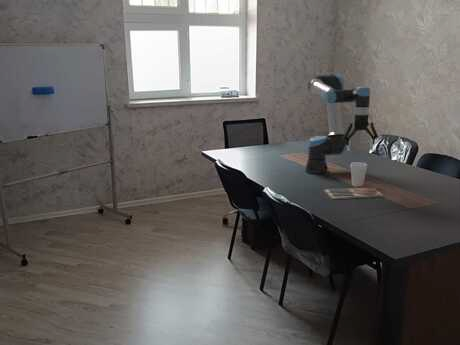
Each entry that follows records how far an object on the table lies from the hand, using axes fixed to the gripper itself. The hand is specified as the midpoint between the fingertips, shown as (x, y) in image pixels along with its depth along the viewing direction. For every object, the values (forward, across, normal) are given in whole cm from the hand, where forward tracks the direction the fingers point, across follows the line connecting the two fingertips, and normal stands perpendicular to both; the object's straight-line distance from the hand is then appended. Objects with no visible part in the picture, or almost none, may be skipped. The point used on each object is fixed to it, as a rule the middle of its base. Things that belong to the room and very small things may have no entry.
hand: (359, 150), depth 255 cm
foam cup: (+22, 0, 0) cm, 22 cm away
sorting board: (+21, -8, -16) cm, 28 cm away
